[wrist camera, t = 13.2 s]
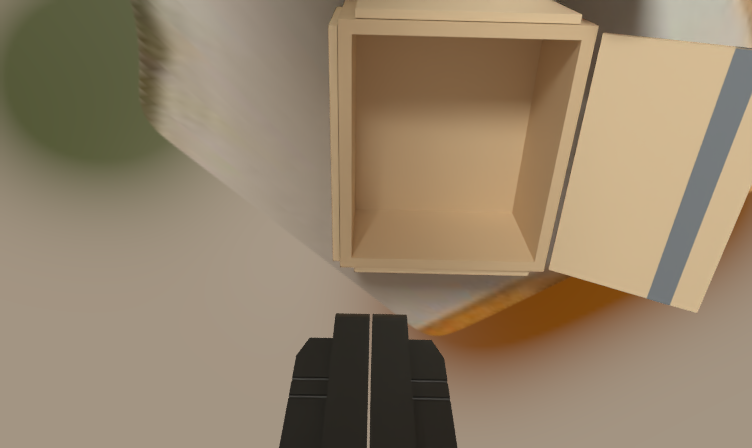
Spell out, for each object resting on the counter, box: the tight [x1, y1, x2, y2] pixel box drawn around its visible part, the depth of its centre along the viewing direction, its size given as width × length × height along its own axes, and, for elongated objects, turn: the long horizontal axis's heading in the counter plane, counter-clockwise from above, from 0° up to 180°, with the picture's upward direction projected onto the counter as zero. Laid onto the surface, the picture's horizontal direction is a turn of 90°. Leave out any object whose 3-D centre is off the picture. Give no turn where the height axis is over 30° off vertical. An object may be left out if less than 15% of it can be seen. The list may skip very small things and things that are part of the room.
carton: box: [328, 0, 599, 276], centre depth 38 cm, size 18×15×8 cm
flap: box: [549, 32, 752, 313], centre depth 32 cm, size 16×1×10 cm
